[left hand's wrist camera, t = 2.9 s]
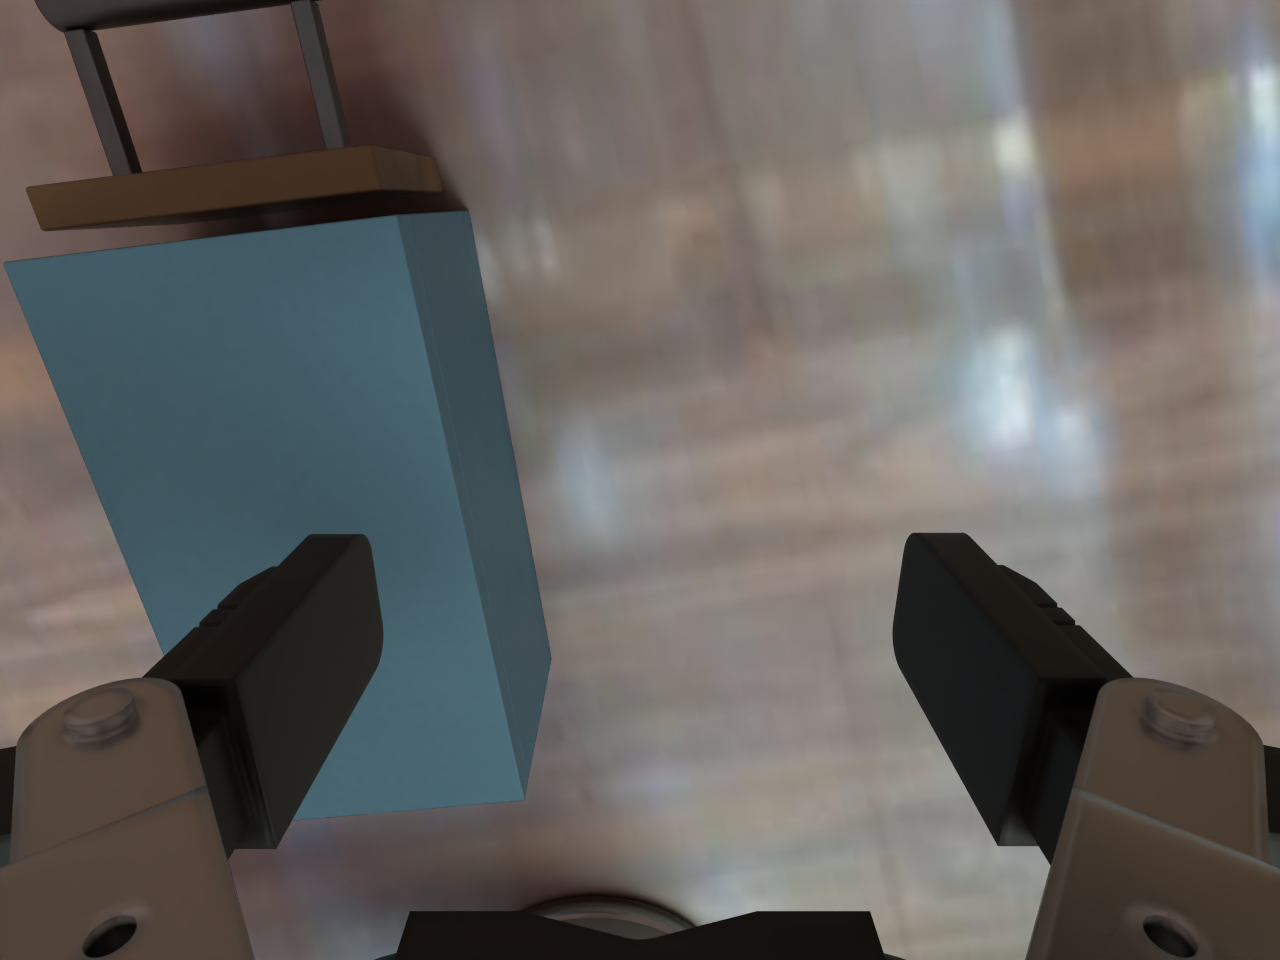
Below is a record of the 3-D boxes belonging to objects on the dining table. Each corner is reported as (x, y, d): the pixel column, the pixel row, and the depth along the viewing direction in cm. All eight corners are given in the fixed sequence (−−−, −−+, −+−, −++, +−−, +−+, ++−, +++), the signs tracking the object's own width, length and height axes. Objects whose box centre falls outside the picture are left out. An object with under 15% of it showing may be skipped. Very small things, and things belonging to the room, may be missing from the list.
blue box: (188, 243, 29) (1, 262, 20) (468, 210, 28) (396, 214, 20) (328, 680, 36) (233, 826, 28) (551, 658, 36) (524, 800, 27)
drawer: (115, 15, 25) (-69, -50, 18) (401, -23, 25) (315, -103, 18) (313, 634, 34) (236, 737, 27) (525, 614, 33) (497, 713, 27)
